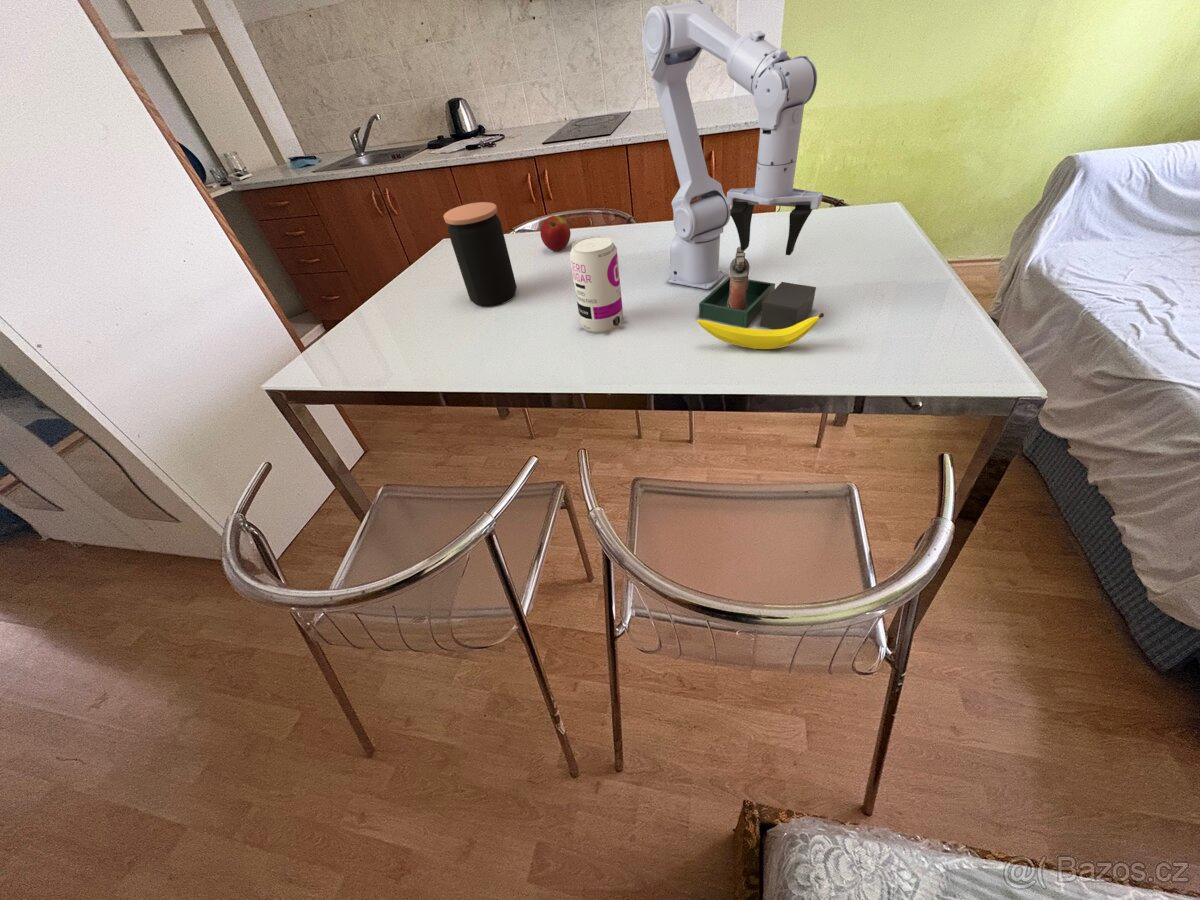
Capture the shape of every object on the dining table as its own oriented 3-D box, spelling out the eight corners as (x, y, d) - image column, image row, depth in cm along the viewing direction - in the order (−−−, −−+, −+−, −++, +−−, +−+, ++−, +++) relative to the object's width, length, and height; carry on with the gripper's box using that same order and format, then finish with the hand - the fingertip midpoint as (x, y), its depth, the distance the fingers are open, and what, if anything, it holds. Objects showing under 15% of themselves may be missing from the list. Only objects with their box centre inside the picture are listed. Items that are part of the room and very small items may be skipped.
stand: (759, 326, 84) (762, 302, 81) (778, 305, 89) (781, 281, 86) (794, 333, 81) (798, 308, 78) (811, 311, 86) (816, 287, 83)
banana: (697, 341, 83) (697, 307, 79) (816, 345, 78) (823, 308, 74) (695, 350, 81) (695, 316, 77) (817, 354, 76) (824, 318, 72)
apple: (537, 254, 123) (530, 221, 118) (555, 242, 128) (549, 210, 122) (561, 257, 120) (555, 223, 114) (579, 245, 124) (574, 212, 119)
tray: (698, 317, 89) (699, 303, 87) (728, 290, 96) (729, 276, 94) (746, 327, 85) (747, 312, 83) (773, 298, 91) (775, 283, 89)
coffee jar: (526, 288, 108) (506, 202, 96) (501, 310, 102) (475, 220, 90) (488, 284, 112) (464, 201, 100) (460, 305, 106) (431, 219, 94)
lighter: (746, 316, 87) (751, 261, 80) (727, 316, 88) (730, 262, 81) (745, 296, 93) (750, 243, 86) (727, 296, 93) (730, 244, 87)
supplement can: (628, 314, 93) (622, 234, 83) (616, 336, 88) (607, 253, 78) (589, 312, 96) (578, 234, 86) (575, 333, 90) (561, 253, 80)
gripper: (721, 167, 74) (717, 255, 84) (819, 169, 68) (803, 264, 77) (737, 154, 79) (732, 240, 88) (832, 155, 72) (815, 247, 81)
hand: (766, 250), depth 83 cm, fingers open, 7 cm apart
